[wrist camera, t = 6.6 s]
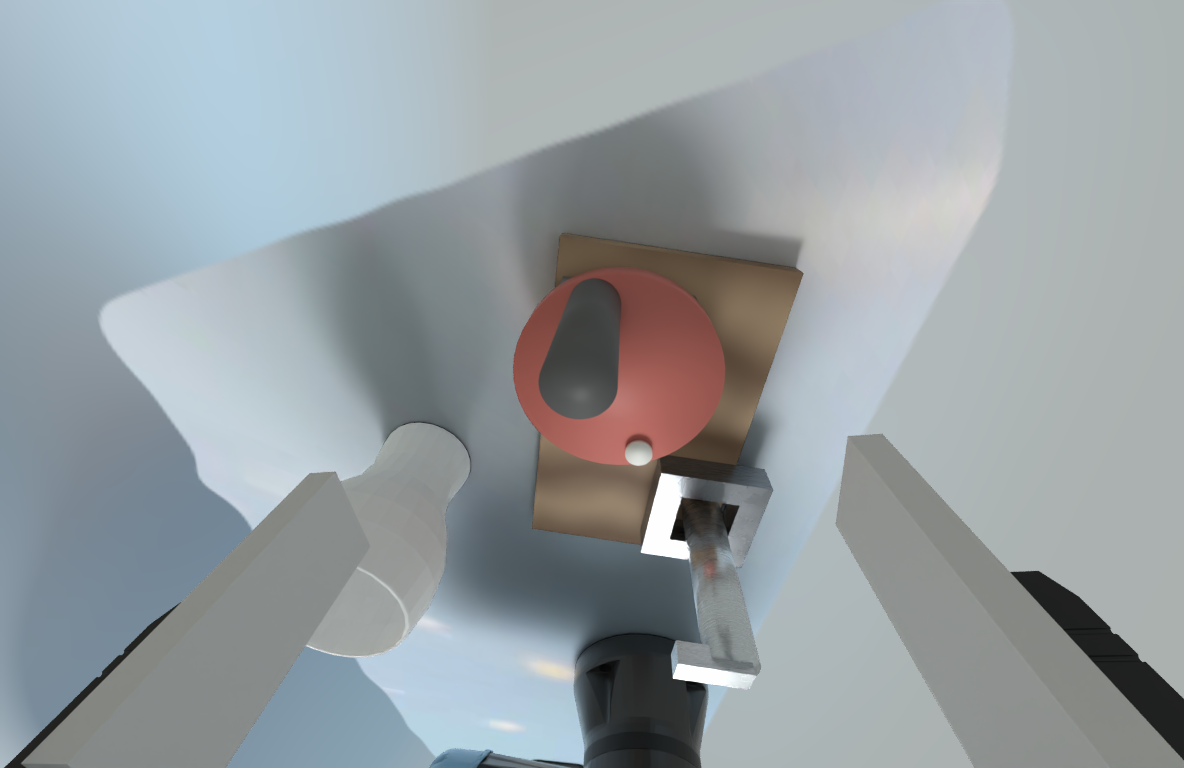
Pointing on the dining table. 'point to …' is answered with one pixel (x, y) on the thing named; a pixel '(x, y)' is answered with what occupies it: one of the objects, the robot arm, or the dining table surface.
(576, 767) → the phone
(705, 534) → the hook peg
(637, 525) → the board
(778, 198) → the dining table surface
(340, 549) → the robot arm
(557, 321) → the handwheel
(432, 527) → the cup
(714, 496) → the eye
